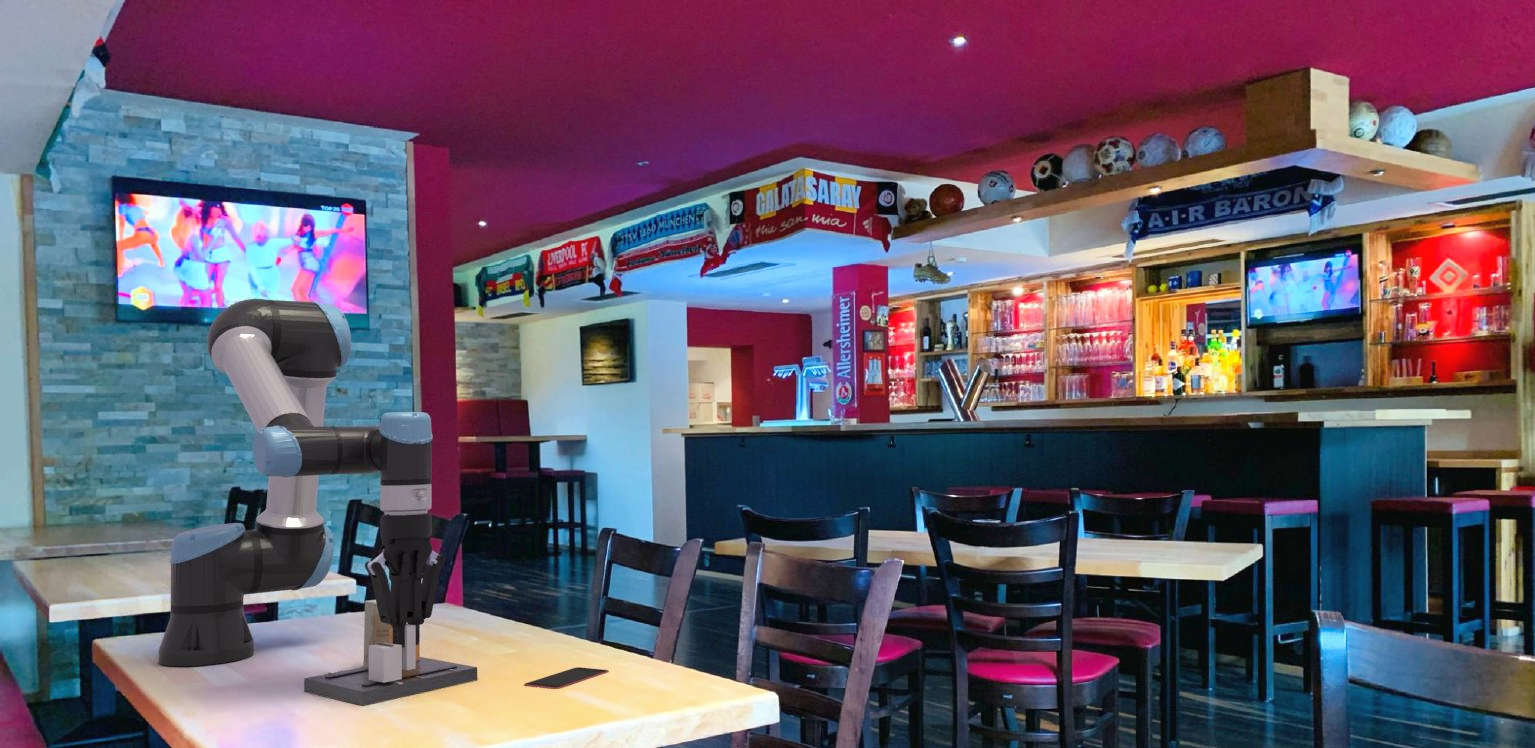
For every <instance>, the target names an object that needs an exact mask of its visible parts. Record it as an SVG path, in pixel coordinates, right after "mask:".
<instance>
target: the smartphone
mask: <svg viewBox="0 0 1535 748" xmlns="http://www.w3.org/2000/svg"><path fill="white" fill-rule="evenodd" d="M609 672H610V671H609V670H608V669H602V668H601V669H600V668H599V669H598V668H590V667H583V666H581V667H579V666H578V667H572V668H570V669H567V670H563V671H560V672H557V673H553V674H551V675H547V676H544V677H541V678H537V679H535V680H531V681H529V682H525V683H524V684H523V686H525V687H529V688H530V687H531V688H538V687H539V689H546V690H559V689H563V688H566V687H569V686H572V685H575V684H578V683H581V682H584V681H587V680H590V679H593V678H597V677H598V676H602V675H605V674H607V673H609Z"/></svg>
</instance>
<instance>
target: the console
mask: <svg viewBox="0 0 1535 748" xmlns="http://www.w3.org/2000/svg"><path fill="white" fill-rule="evenodd" d="M303 680H304V681H303V688H304V689H303V692H304V693H308V694H309V693H310V694H313V695H317V696H321V697H325V698H330V699H332V700H337V701H340V702H345V703H346V702H347V703H350V704H354V705H357V706H362V707H363V706H369V705H373V704H377V703H382V702H386V701H387V702H388V701H390V700H391V701H392V700H394V699H399V698H404V697H409V696H413V695H417V694H423V693H425V692H426V693H427V692H432V691H436V690H439V689H444V688H449V687H453V686H458V685H461V684H465V683H471V682H475V681H478V667H477V666H473V665H467V664H463V663H456V662H451V661H445V660H440V659H434V658H430V657H429V658H428V657H423V656H420V660H419V661H416V669H411V670H403V669H402V679H400V680H395V681H390V682H385V683H383V682H378V681H373V680H369V666H365V665H364V664H363V665H362V666H361V667H356V668H350V669H345V670H340V671H335V672H331V671H329V672H327V673H325V674H320V675H315V676H309V677H304V678H303Z"/></svg>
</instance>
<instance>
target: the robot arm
mask: <svg viewBox="0 0 1535 748" xmlns="http://www.w3.org/2000/svg"><path fill="white" fill-rule="evenodd" d="M206 346H207V352H208V355H209V357H210V359H211V361H212V363H213V364H214V366H215V367H216V369H217V370H219V371H220V372H222V373H223V374H226V375H227V378H228V379H229V380H230V382H231V385H232V386H233V388H234V390H235V392H236V394H237V396H238V397H239V399H240V401H241V403H242V405H243V407H244V408H245V411H246V412H247V415H248V417H249V418H250V420H251V422H252V423H253V426H254V427H255V429H256V431H257V433H256V434H255V436H254V439H253V446H252V457H253V460H254V466H255V469H256V471H257V472H258V473H259V474H260V475H262V476H264V477H268V482H267V495H266V505H265V506H266V507H265V510H264V511H263V512H261V513H260V514H259V515H257V517H256V518H255V519H256V520H255V522H256V523H255V529H248V530H246V527H245V525H244V523H242V522H231V523H225V524H224V523H223V524H214V525H209V526H202V527H197V528H193V529H188V530H187V531H182V532H180V533H178V534H177V535H175V537H174V538H173V540H172V544H171V552H170V558H169V564H170V612H169V613H170V617H169V620H168V623H167V626H166V629H165V632H164V634H163V637H162V640H161V643H160V646H159V649H158V664H159V665H163V666H168V667H195V666H208V665H217V664H218V665H219V664H223V663H230V662H235V661H240V660H242V659H247V658H249V657H251V656H252V655H254V654H255V652H254V650H255V649H254V647H255V646H254V645H255V641H254V638H253V636H252V633H251V630H250V627H249V624H248V622H247V618H246V615H245V613H244V611H245V610H244V599H245V598H244V596H245V595H250V594H251V595H253V594H254V595H255V594H256V595H257V594H262V593H264V594H265V593H273V592H282V591H283V592H284V591H299V590H301V589H306V588H307V589H308V588H314V587H316V586H318V585H320V584H321V583H322V582H323V581H324V580H325V578H326V577H327V576H328V574H329V572H330V569H331V566H332V563H333V562H332V561H333V558H334V549H335V548H334V547H335V546H334V545H335V544H334V543H333V541H334V537H333V536H334V535H333V533H332V531H331V529H330V528H329V527H328V526H327V525H324V520H325V519H324V518H323V517H322V515H321V514H319V513H318V511H317V504H318V503H317V502H318V493H319V492H318V491H319V490H318V489H319V479H320V476H326V475H329V476H330V475H335V476H336V475H360V474H361V475H362V474H363V475H364V474H367V475H368V474H374V475H375V474H380V480H379V481H380V494H379V496H380V497H379V499H380V500H379V510H380V512H381V511H382V512H383V514H382V515H381V516H380V517H379V518H380V520H379V521H380V523H379V525H380V527H379V529H380V533H379V534H380V535H379V537H380V539H381V545H380V549H379V550H378V556H376V557H375V558H374V559H372V561H366V562H365V564H364V569H365V570H366V572H367V573H368V575H369V577H370V580H371V584H372V588H373V593H374V598H375V600H376V603H377V607H378V612H379V617H380V621H381V622H383V623H387V624H390V625H392V628H393V644H398V645H402V669H403V670H411V669H416V645H419V641H421V640H420V639H421V638H419V637H420V636H421V634H420V633H421V632H420V630H421V629H420V628H421V625H423V624H424V622H425V619H430V618H431V616H432V615H433V614H432V613H433V608H434V604H435V599H436V594H437V588H438V583H439V578H440V573H441V571H442V570H441V569H442V568H443V566H444V564H445V562H446V555H444V554H439V553H437V552H436V551H435V550H433V544H432V542H431V536H433V535H432V533H433V529H432V528H433V525H432V524H433V522H432V521H433V515H431V513H430V512H428V511H429V510H431V509H433V508H432V503H433V502H432V500H433V499H432V497H433V496H432V494H433V493H432V478H433V477H432V473H433V472H432V470H433V469H432V467H433V466H432V465H433V464H432V463H433V440H434V439H433V438H434V437H433V433H432V418H431V416H430V414H428V412H422V411H421V412H419V411H417V412H416V411H399V412H396V411H391V412H385V413H383V414H382V416H381V418H380V425H366V426H365V425H362V426H361V425H360V426H358V425H356V426H354V425H353V426H349V425H348V426H324V420H325V407H326V397H327V396H326V395H327V386H328V385H329V384H330V383H332V382H333V381H334V380H335V379H336V378H337V370H338V368H342V367H345V366H346V365H347V364H348V363H349V358H350V357H351V353H352V336H351V330H350V325H349V322H348V320H347V318H346V315H345V314H344V313H343V311H342V310H341V309H340V308H339V307H337V306H336V305H334V304H329V303H322V302H316V301H301V300H300V301H299V300H279V299H265V298H250V299H249V298H248V299H243V300H240V301H238V302H235V303H233V304H232V303H231V305H229V306H228V307H226V308H224V309H223V310H222V311H221V312H220V313H219V314H218V315H217V316H216V317H215V319H214V320H213V321H212V323H211V325H210V328H209V330H208V333H207V339H206ZM424 566H425V567H424ZM386 569H388V575H387V572H386ZM389 581H390V583H389ZM419 634H420V635H419Z"/></svg>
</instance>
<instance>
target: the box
mask: <svg viewBox="0 0 1535 748" xmlns="http://www.w3.org/2000/svg"><path fill="white" fill-rule="evenodd" d="M363 626H364V633H363V635H364V636H363V666H364V665H365V666H369V646H370V645H375V644H377V643H389V630H390V629H393V628H392V625H390V624H387V623H383V622H381V621H380V617H379V612H378V607H377V603H376V599H371V600H365V601H364V625H363Z"/></svg>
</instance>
